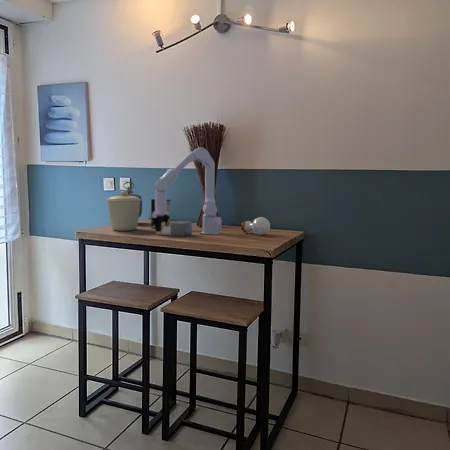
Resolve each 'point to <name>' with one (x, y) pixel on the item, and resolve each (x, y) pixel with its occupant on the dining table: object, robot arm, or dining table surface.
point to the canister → (124, 212)
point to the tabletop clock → (133, 195)
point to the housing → (181, 228)
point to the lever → (164, 229)
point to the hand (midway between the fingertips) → (160, 230)
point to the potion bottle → (256, 226)
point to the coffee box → (154, 211)
